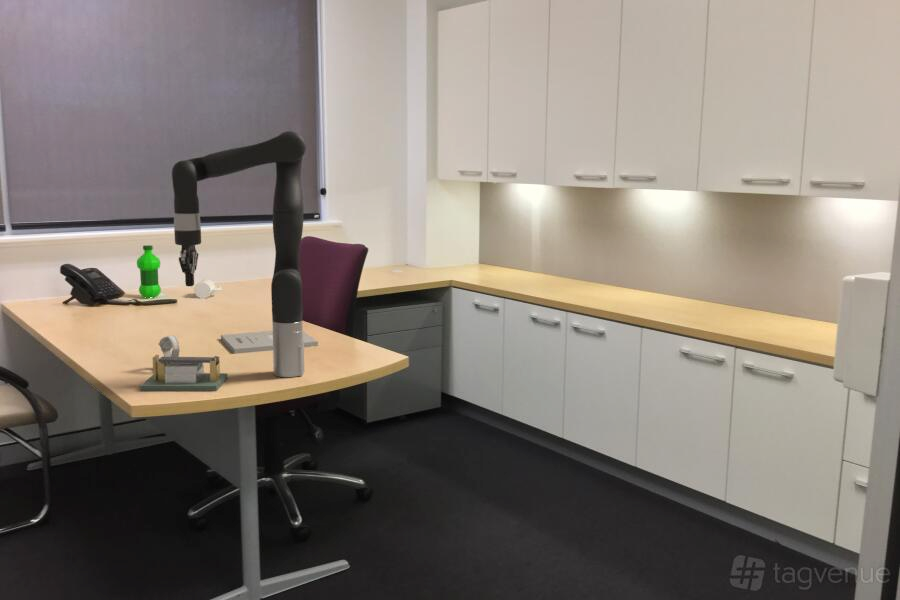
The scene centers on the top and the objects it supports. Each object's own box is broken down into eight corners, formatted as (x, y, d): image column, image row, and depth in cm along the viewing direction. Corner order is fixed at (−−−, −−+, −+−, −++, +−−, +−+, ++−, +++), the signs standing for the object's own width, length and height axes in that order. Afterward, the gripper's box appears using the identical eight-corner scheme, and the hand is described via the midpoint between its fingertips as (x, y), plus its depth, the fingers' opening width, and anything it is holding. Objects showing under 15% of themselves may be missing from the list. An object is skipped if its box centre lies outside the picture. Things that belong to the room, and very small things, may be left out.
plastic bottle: (157, 295, 394) (155, 244, 390) (164, 298, 386) (161, 246, 381) (136, 296, 389) (133, 245, 384) (142, 300, 380) (139, 247, 376)
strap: (218, 361, 243) (218, 356, 243) (215, 364, 240) (215, 359, 239) (162, 360, 242) (162, 355, 242) (158, 363, 239) (158, 358, 239)
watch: (174, 365, 263) (172, 332, 261) (185, 370, 258) (184, 336, 256) (157, 368, 259) (156, 335, 258) (168, 373, 254) (167, 339, 252)
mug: (194, 298, 387) (193, 282, 385) (199, 295, 397) (198, 279, 395) (219, 298, 388) (219, 282, 386) (223, 295, 398) (223, 279, 396)
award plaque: (221, 340, 302) (220, 334, 302) (299, 333, 315) (299, 328, 315) (234, 355, 280) (234, 348, 280) (318, 347, 294) (317, 341, 293)
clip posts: (220, 377, 245) (220, 354, 244) (216, 381, 240) (215, 358, 238) (158, 376, 244) (157, 354, 243) (152, 381, 239) (151, 358, 238)
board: (227, 378, 250) (227, 373, 249) (216, 390, 236) (216, 386, 235) (155, 377, 249) (155, 373, 248) (140, 390, 235) (139, 385, 235)
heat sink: (204, 375, 247) (203, 359, 246) (196, 383, 238) (195, 367, 237) (174, 375, 246) (173, 359, 245) (165, 383, 237) (164, 367, 236)
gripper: (194, 230, 234) (196, 289, 237) (206, 226, 247) (208, 282, 250) (168, 230, 233) (170, 289, 236) (181, 226, 246) (183, 282, 249)
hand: (190, 285), depth 243 cm, fingers closed
